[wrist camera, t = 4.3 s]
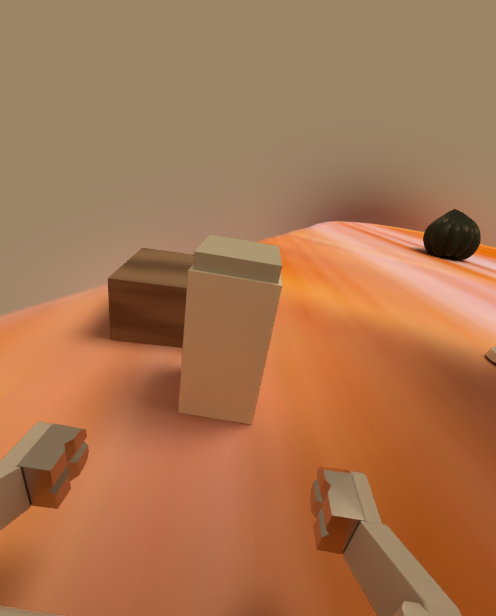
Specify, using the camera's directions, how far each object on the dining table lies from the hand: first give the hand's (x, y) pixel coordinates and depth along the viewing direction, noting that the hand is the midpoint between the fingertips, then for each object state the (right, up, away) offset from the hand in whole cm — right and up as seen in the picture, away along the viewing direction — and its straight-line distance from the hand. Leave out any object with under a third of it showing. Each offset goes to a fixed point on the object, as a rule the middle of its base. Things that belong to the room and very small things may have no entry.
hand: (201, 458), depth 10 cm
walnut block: (-6, +4, +21) cm, 22 cm away
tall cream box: (0, -1, +12) cm, 12 cm away
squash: (+65, +22, +85) cm, 109 cm away
